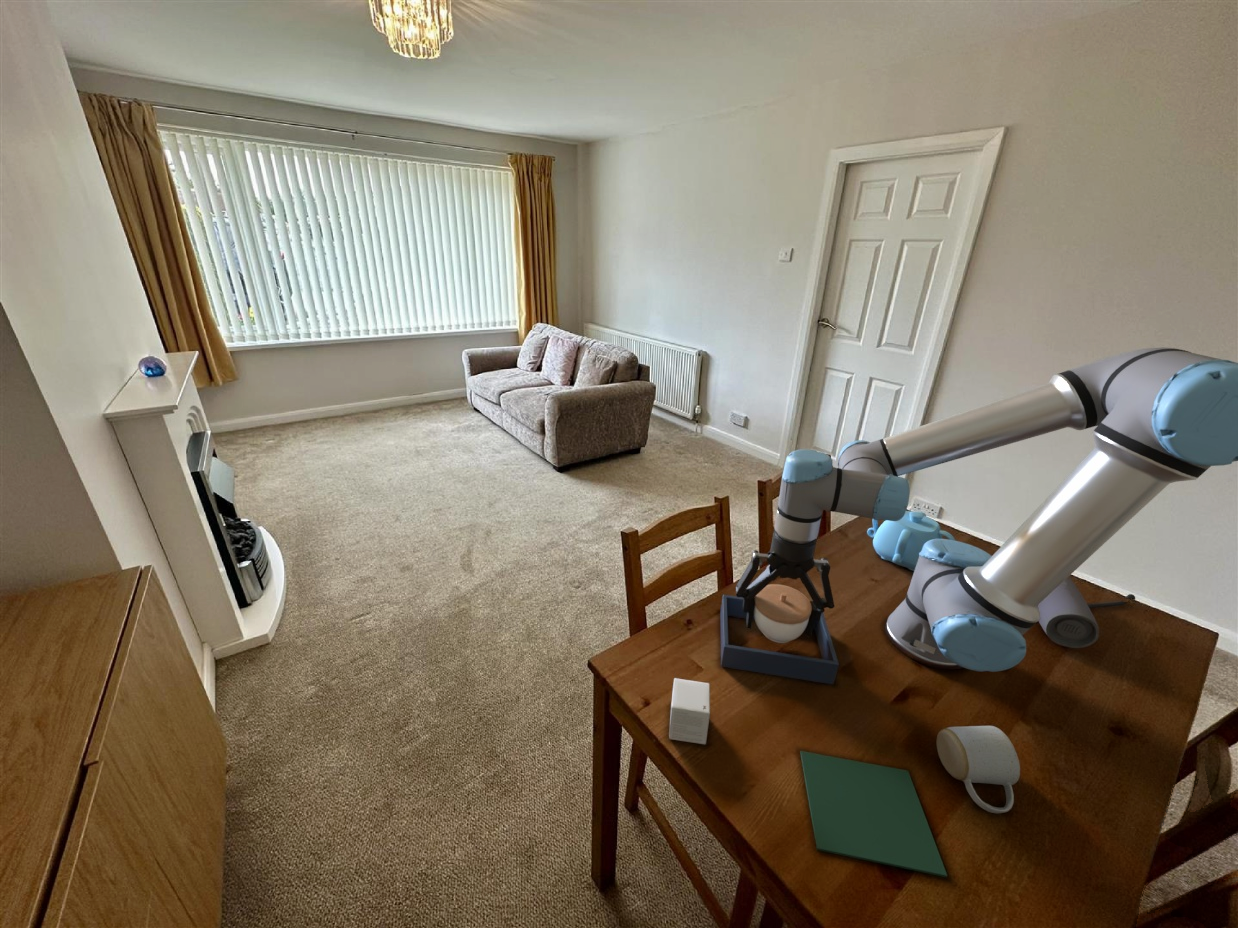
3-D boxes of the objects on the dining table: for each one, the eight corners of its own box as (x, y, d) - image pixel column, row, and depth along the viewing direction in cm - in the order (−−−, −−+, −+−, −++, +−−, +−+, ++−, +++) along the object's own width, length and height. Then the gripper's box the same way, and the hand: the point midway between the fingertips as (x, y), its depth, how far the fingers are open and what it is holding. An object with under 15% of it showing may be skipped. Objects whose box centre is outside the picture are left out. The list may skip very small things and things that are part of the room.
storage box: (817, 626, 103) (821, 608, 101) (833, 684, 89) (839, 664, 87) (720, 612, 107) (722, 594, 105) (721, 666, 92) (724, 646, 90)
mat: (907, 772, 74) (908, 770, 74) (946, 877, 62) (947, 875, 62) (800, 752, 77) (800, 750, 77) (816, 849, 64) (817, 847, 64)
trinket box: (809, 656, 91) (818, 616, 87) (750, 647, 92) (757, 608, 89) (801, 617, 100) (808, 580, 96) (748, 610, 102) (753, 573, 98)
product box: (706, 713, 83) (710, 682, 80) (706, 746, 77) (710, 714, 74) (670, 707, 84) (673, 676, 81) (668, 739, 78) (671, 707, 75)
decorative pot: (920, 544, 135) (934, 501, 130) (951, 578, 120) (968, 532, 115) (860, 539, 136) (872, 497, 131) (883, 573, 122) (897, 527, 116)
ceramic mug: (927, 746, 78) (941, 713, 75) (976, 747, 78) (993, 715, 75) (970, 816, 69) (988, 782, 66) (1026, 817, 69) (1048, 784, 66)
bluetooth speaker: (1007, 583, 120) (1022, 549, 116) (1054, 594, 116) (1071, 560, 112) (1033, 643, 101) (1052, 605, 97) (1090, 659, 97) (1112, 620, 93)
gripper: (857, 529, 89) (834, 622, 97) (729, 516, 92) (718, 607, 101) (869, 551, 82) (843, 650, 91) (730, 537, 86) (718, 633, 94)
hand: (777, 627), depth 96 cm, fingers closed on trinket box, 11 cm apart
